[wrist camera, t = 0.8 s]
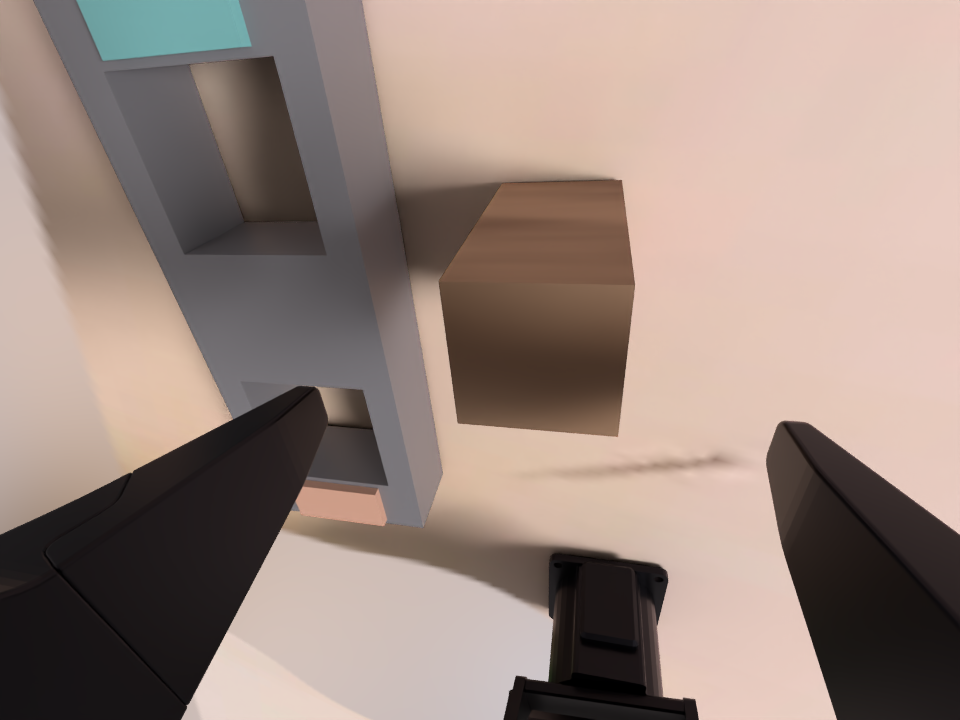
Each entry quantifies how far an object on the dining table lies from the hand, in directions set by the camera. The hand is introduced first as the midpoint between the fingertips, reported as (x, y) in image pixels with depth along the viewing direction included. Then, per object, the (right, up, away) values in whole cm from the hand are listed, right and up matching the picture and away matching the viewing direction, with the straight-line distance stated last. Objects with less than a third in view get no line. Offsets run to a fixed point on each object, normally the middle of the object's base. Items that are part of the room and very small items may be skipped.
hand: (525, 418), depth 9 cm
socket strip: (-8, +4, +11) cm, 14 cm away
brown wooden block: (+2, +5, +8) cm, 10 cm away
